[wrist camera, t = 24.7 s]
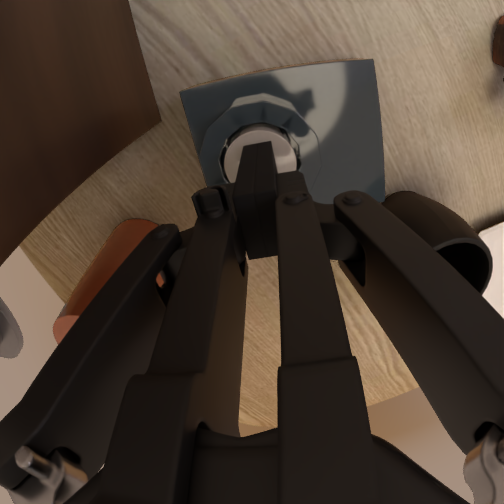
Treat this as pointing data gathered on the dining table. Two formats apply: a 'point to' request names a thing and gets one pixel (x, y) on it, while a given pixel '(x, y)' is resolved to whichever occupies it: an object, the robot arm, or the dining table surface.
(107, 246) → the orange cylinder
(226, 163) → the round white push button
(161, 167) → the dining table surface
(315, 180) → the gray button box
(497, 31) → the pottery mug
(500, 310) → the plate
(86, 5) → the stand
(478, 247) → the mug
